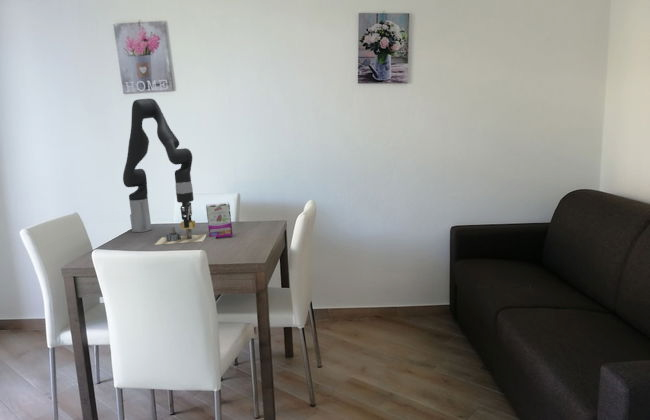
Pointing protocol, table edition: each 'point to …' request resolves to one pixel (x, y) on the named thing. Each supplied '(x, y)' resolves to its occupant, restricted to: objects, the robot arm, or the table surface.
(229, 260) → the table surface
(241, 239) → the table surface
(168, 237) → the silver gear
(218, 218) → the candy bar box
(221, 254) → the table surface
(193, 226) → the brass gear
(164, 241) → the gear board
